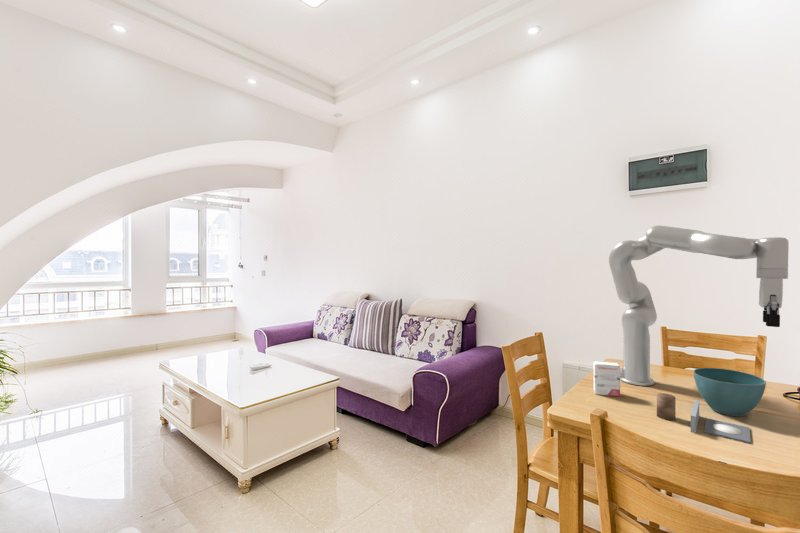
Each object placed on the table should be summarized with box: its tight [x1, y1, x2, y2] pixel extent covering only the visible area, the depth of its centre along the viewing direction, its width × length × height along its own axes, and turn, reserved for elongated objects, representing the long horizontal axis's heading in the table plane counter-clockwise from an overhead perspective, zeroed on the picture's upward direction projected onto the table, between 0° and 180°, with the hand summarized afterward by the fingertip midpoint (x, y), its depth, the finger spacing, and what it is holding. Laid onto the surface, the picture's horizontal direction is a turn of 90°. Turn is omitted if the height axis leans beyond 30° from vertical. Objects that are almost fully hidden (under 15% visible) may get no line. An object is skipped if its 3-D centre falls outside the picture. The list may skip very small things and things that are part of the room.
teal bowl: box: [693, 367, 767, 417], centre depth 124 cm, size 18×18×12 cm
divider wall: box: [690, 399, 700, 434], centre depth 115 cm, size 1×16×5 cm, turn 138°
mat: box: [704, 417, 752, 444], centre depth 110 cm, size 10×12×1 cm
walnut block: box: [656, 392, 676, 421], centre depth 120 cm, size 5×5×7 cm
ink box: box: [592, 361, 621, 397], centre depth 142 cm, size 9×5×12 cm, turn 71°
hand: (770, 324), depth 124 cm, fingers open, 9 cm apart
